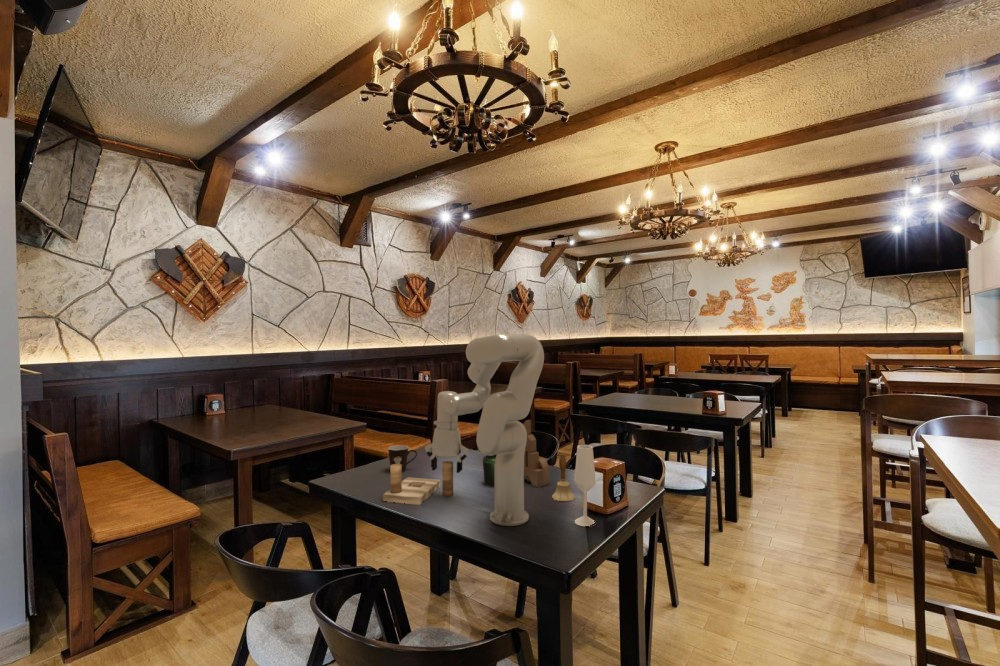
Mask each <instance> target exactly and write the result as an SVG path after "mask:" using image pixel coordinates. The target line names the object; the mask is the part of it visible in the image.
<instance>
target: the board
mask: <svg viewBox="0 0 1000 666" xmlns="http://www.w3.org/2000/svg"><path fill="white" fill-rule="evenodd" d="M389 467H390V468H389V470H390V480H389V481H390V485H389V487H390V489H389V490H387V491H386V492H385V493H383V495H382V501H387V502H386V503H393V502H395V503H394V504H402V505H415V506H416V505H417V506H420V505H421V504H423V503H424V502H425V501H426V500H427V499H428V498H429V497H431V496H432V495H433V494H434V493H435V492H436V491H437V490H438V489H440V488H441V487H440V486H441V482H442V481H441V479H434V478H432V479H430V478H422V477H421V478H420V477H418V478H417V477H405V479H403V480H402V476H403V475H402V473H403V472H402V465H401V464H392V465H390V464H389ZM432 493H433V494H432ZM431 494H432V495H431ZM423 501H424V502H423ZM422 502H423V503H422ZM404 503H405V504H404Z"/></svg>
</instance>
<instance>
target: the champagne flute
mask: <svg viewBox="0 0 1000 666" xmlns="http://www.w3.org/2000/svg"><path fill="white" fill-rule="evenodd" d="M593 448H594V447H593V446H592V445H589V444H578V445H577V447H576V449H577V450H576V458H575V469H574V481H573V482H574V484H575V486H576V487H577V488H578V489H579V490H580V491H581V492H582V516H580V517H578V518H576V519H575V520H574V521H575V522H574V524H576V525H578V526H581V527H585V526H589V527H591V526H590V525H592V524H594V523H595V522H596V521H595V520H594V519H592V518H590V517H589V516H588V492H589V491H591V490H592V489H593V488H594V486H595V485H596V483H597V482H596V481H597V480H596V479H597V478H596V468H595V459H594V449H593ZM594 521H595V522H594Z"/></svg>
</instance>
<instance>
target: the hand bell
mask: <svg viewBox="0 0 1000 666" xmlns="http://www.w3.org/2000/svg"><path fill="white" fill-rule="evenodd" d="M558 464H559V469H560V481H557V484H556V489H555V492H554V493H553V494H552V495H551V498H553V500H554V501H556V500H557V501H556V502H559V501H570V500H573V499H574V498H576V497H575V495H574V494H573V493H572V491H571V485H570V482H568V481H566V480H567V479H566V468H567V458H566V456H565V454H564V453H561V454H560V457H559V461H558ZM574 500H575V499H574ZM574 500H573V501H574ZM570 502H571V501H570Z"/></svg>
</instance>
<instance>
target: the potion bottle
mask: <svg viewBox="0 0 1000 666" xmlns="http://www.w3.org/2000/svg"><path fill="white" fill-rule="evenodd" d="M496 456H497V455H492V456H487V455H484V456H483V458H482V468H483V480H484V485H485V486H487V485H489V487H495V459H496Z"/></svg>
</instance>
